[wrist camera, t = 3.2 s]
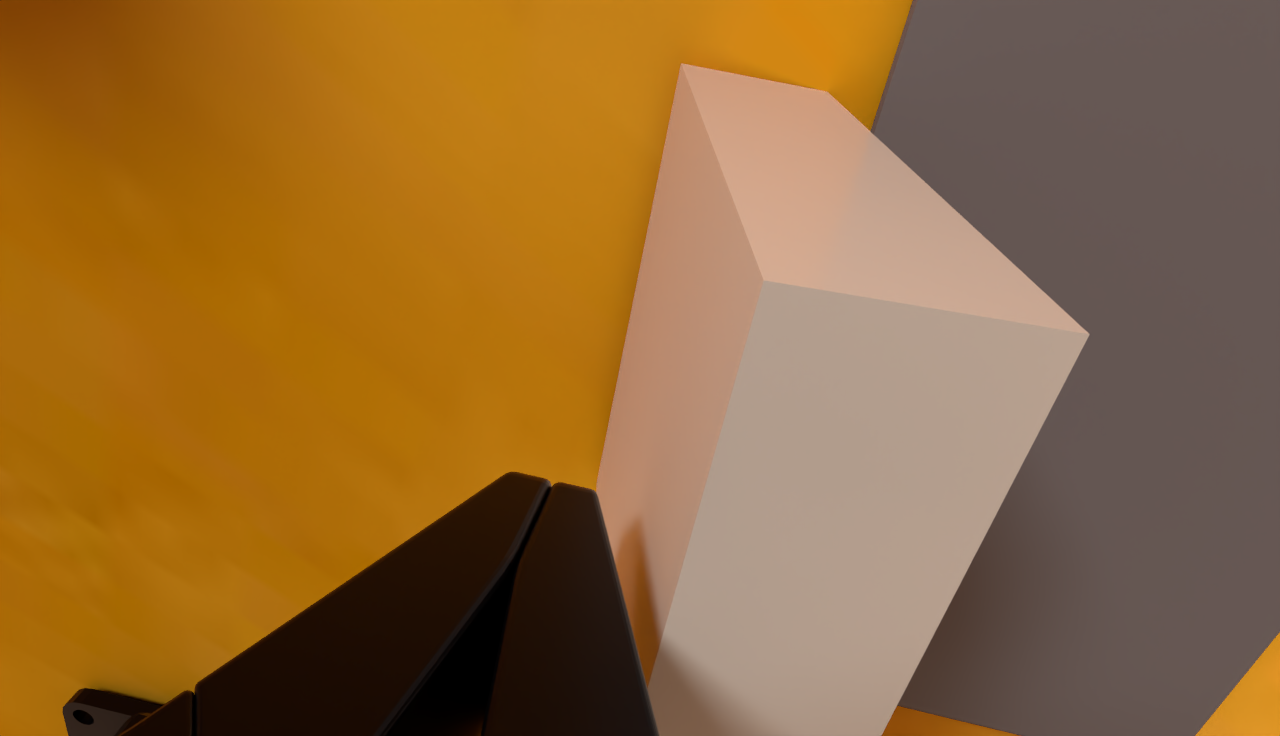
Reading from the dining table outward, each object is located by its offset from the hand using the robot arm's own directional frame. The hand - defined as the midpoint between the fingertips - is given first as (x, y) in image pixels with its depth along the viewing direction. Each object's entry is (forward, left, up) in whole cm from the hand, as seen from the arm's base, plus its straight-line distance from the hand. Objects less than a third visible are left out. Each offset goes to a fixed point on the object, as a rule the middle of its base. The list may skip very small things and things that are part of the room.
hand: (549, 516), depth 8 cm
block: (0, -1, -6) cm, 6 cm away
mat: (0, -7, -6) cm, 9 cm away
